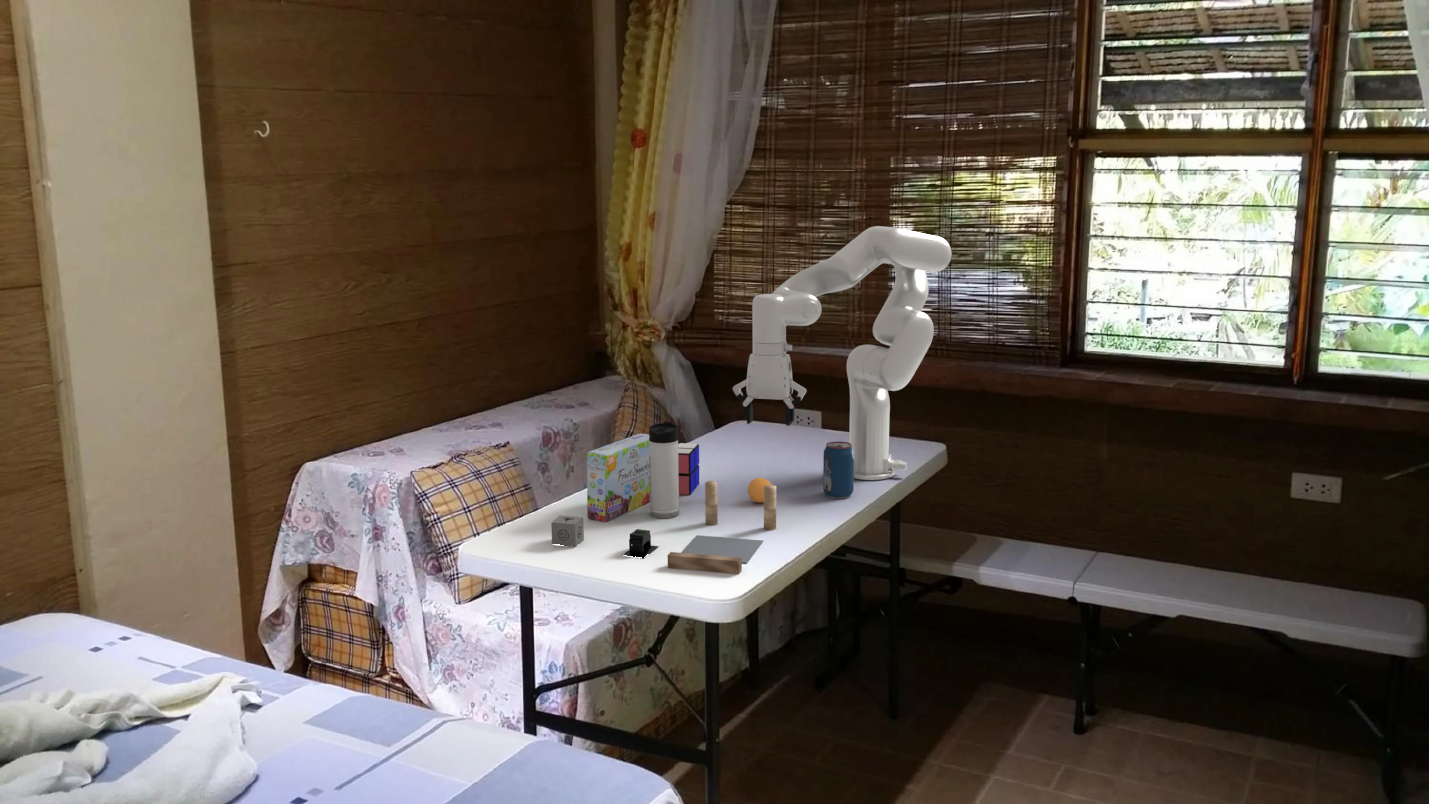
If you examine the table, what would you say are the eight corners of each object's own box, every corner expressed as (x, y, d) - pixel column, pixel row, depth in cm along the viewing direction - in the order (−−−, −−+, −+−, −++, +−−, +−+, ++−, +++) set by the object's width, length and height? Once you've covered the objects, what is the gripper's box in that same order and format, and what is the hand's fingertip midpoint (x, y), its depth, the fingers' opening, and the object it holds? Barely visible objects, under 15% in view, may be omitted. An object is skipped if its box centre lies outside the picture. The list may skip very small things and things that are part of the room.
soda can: (857, 493, 285) (858, 442, 283) (847, 500, 279) (848, 449, 277) (829, 489, 288) (829, 439, 286) (818, 497, 282) (819, 446, 280)
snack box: (608, 523, 264) (606, 454, 261) (586, 519, 267) (584, 451, 264) (660, 498, 282) (659, 434, 279) (639, 495, 285) (638, 431, 282)
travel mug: (683, 511, 272) (682, 422, 268) (672, 519, 266) (671, 429, 262) (657, 508, 274) (655, 420, 270) (645, 517, 268) (644, 427, 264)
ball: (775, 499, 280) (775, 475, 279) (769, 506, 275) (769, 482, 274) (750, 498, 282) (750, 474, 281) (745, 504, 276) (745, 480, 275)
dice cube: (583, 540, 253) (583, 516, 252) (575, 547, 248) (575, 524, 247) (560, 538, 254) (560, 515, 253) (552, 546, 249) (551, 522, 248)
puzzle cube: (690, 496, 284) (690, 453, 282) (648, 494, 286) (647, 451, 284) (699, 484, 294) (699, 443, 292) (658, 482, 296) (658, 441, 294)
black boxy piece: (636, 543, 253) (636, 521, 252) (669, 546, 250) (669, 525, 249) (610, 562, 241) (610, 539, 240) (645, 566, 239) (645, 543, 238)
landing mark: (763, 541, 251) (763, 540, 251) (746, 563, 238) (746, 562, 238) (696, 536, 255) (696, 535, 255) (676, 557, 242) (676, 556, 241)
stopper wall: (741, 570, 234) (741, 557, 234) (739, 573, 232) (739, 561, 232) (670, 564, 238) (670, 551, 237) (667, 567, 236) (667, 555, 235)
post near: (777, 526, 261) (777, 485, 259) (774, 530, 258) (774, 488, 256) (765, 525, 261) (765, 484, 259) (762, 529, 259) (762, 487, 257)
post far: (719, 522, 264) (718, 481, 262) (715, 525, 262) (715, 484, 260) (707, 521, 265) (707, 480, 263) (704, 524, 262) (703, 483, 260)
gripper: (810, 347, 282) (809, 421, 285) (736, 345, 286) (736, 418, 290) (803, 353, 275) (803, 429, 278) (727, 350, 279) (728, 425, 283)
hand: (769, 423), depth 284 cm, fingers open, 8 cm apart
